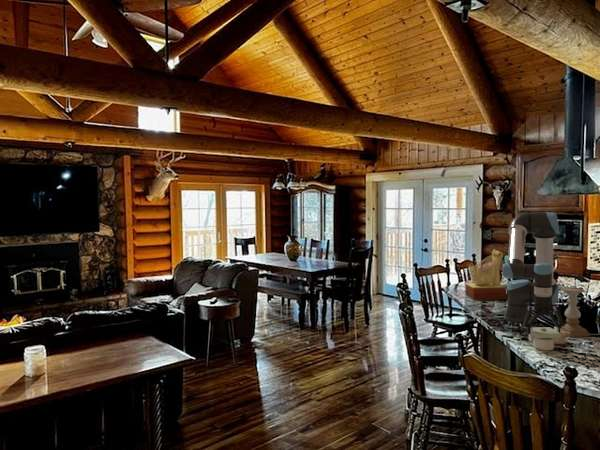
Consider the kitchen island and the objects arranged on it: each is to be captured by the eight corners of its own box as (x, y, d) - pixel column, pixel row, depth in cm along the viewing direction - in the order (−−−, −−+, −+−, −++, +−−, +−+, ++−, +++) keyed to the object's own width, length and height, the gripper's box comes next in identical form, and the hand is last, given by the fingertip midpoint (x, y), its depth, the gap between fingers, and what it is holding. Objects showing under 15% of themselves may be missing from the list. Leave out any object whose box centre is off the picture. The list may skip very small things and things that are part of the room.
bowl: (530, 344, 218) (530, 334, 218) (548, 344, 217) (548, 334, 217) (538, 350, 210) (538, 339, 210) (556, 350, 209) (556, 339, 209)
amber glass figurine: (498, 294, 335) (498, 248, 333) (509, 299, 317) (509, 250, 315) (465, 295, 335) (464, 249, 334) (474, 300, 317) (473, 251, 316)
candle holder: (555, 331, 238) (555, 287, 237) (575, 330, 239) (575, 286, 238) (570, 337, 227) (569, 291, 226) (590, 336, 228) (590, 290, 227)
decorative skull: (483, 290, 352) (482, 264, 351) (475, 283, 378) (475, 260, 377) (506, 290, 349) (506, 264, 348) (497, 283, 375) (497, 260, 374)
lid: (526, 331, 219) (526, 325, 219) (550, 331, 218) (550, 325, 218) (536, 338, 208) (536, 332, 208) (561, 338, 207) (561, 332, 207)
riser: (547, 339, 225) (547, 329, 225) (559, 339, 224) (559, 329, 224) (552, 343, 219) (552, 332, 219) (565, 343, 218) (565, 332, 218)
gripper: (520, 297, 210) (521, 343, 211) (573, 296, 208) (573, 343, 209) (514, 294, 217) (514, 338, 218) (565, 293, 215) (565, 338, 216)
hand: (543, 340), depth 213 cm, fingers closed on lid, 11 cm apart
